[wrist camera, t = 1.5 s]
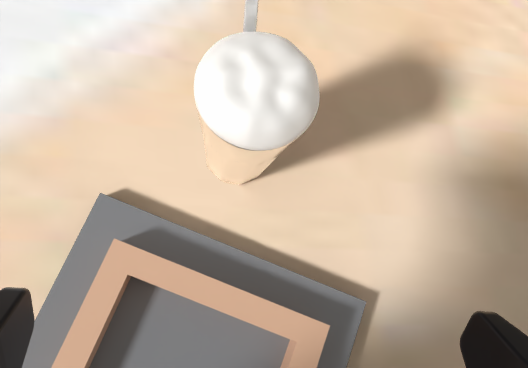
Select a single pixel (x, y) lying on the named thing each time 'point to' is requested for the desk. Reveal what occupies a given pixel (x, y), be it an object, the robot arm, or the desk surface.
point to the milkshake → (252, 100)
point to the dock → (183, 303)
